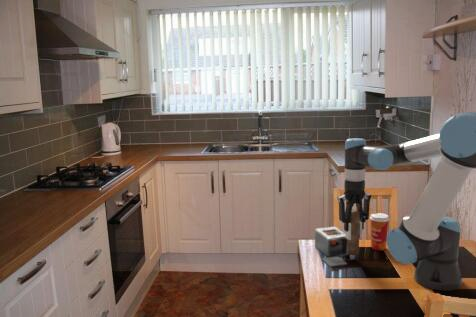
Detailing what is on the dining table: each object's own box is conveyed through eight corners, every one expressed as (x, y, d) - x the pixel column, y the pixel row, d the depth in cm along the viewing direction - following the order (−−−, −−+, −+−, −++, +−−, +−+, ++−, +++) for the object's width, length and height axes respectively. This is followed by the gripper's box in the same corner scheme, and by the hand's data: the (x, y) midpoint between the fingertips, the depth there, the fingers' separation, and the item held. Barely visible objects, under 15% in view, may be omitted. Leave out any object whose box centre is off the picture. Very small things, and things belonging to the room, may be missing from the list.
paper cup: (365, 245, 185) (366, 213, 183) (380, 243, 188) (382, 211, 185) (376, 252, 178) (377, 219, 175) (392, 250, 180) (393, 217, 178)
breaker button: (324, 242, 182) (324, 235, 181) (333, 241, 183) (333, 234, 182) (328, 246, 178) (329, 239, 177) (338, 245, 179) (339, 238, 178)
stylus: (355, 250, 174) (356, 209, 171) (360, 254, 170) (361, 212, 167) (346, 252, 173) (346, 210, 170) (351, 255, 169) (352, 213, 166)
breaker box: (315, 246, 185) (315, 228, 184) (334, 244, 188) (334, 226, 186) (327, 257, 174) (328, 238, 172) (348, 255, 176) (348, 236, 175)
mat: (338, 257, 174) (338, 256, 174) (346, 264, 167) (346, 263, 167) (321, 259, 172) (322, 258, 172) (330, 267, 166) (330, 265, 165)
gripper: (369, 175, 172) (368, 232, 176) (329, 179, 168) (329, 237, 172) (380, 179, 165) (378, 238, 169) (338, 183, 160) (338, 244, 164)
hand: (353, 238), depth 170 cm, fingers closed on stylus, 4 cm apart
